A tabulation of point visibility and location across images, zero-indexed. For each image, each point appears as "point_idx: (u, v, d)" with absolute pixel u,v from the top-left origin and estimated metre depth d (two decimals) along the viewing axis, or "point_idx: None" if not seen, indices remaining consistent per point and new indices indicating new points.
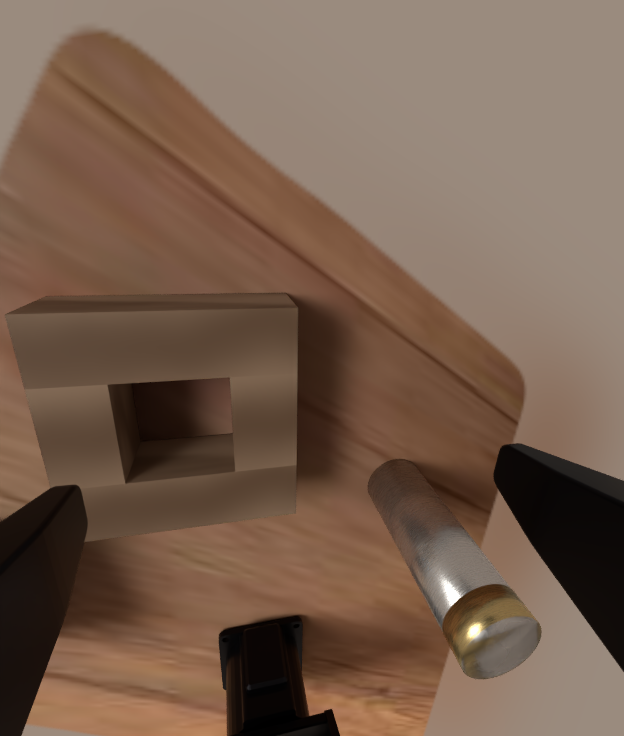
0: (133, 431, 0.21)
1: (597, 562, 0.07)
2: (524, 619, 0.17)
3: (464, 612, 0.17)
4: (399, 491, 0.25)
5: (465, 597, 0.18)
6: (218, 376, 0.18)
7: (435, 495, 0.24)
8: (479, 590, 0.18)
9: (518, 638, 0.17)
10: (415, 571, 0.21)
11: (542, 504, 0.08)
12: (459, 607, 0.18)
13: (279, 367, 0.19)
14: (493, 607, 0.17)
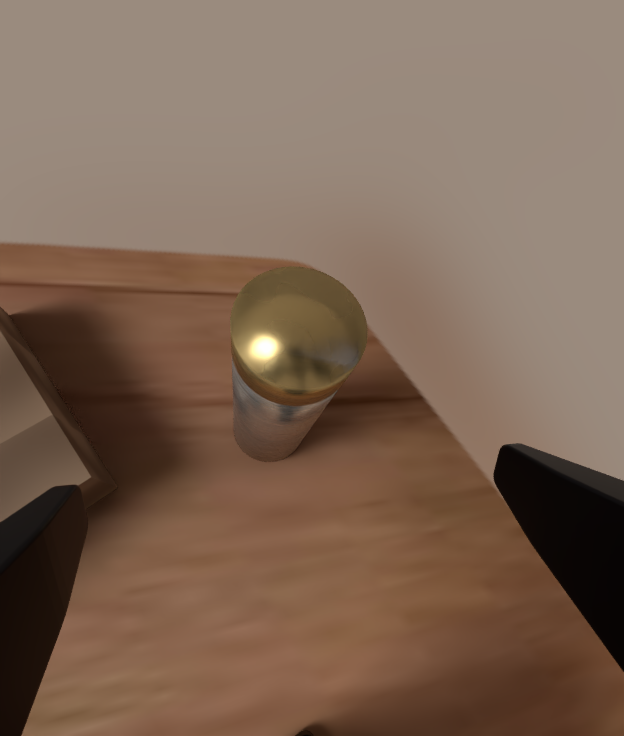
0: None
1: (597, 562, 0.07)
2: (286, 272, 0.12)
3: None
4: None
5: None
6: None
7: None
8: None
9: (312, 300, 0.12)
10: (240, 405, 0.15)
11: (542, 504, 0.08)
12: None
13: None
14: None
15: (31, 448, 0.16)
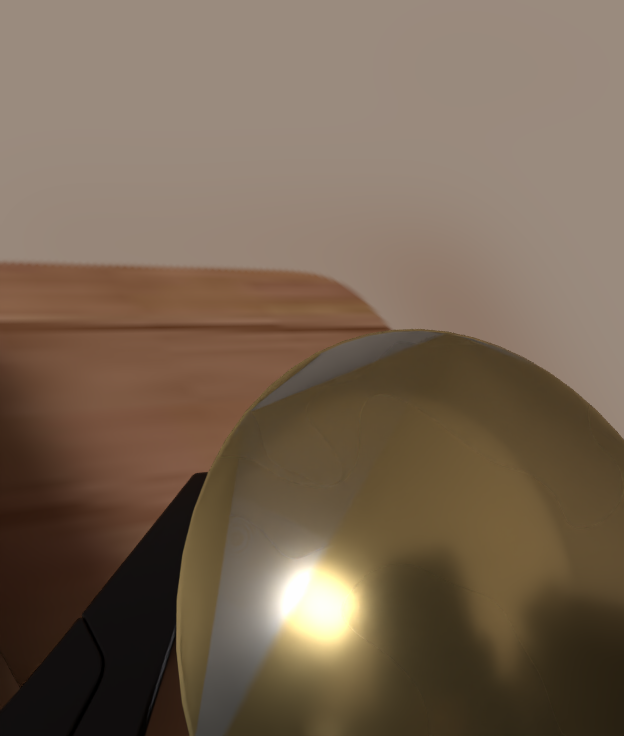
0: None
1: None
2: (382, 352, 0.03)
3: None
4: None
5: None
6: None
7: None
8: None
9: (488, 458, 0.03)
10: None
11: None
12: None
13: None
14: None
15: None
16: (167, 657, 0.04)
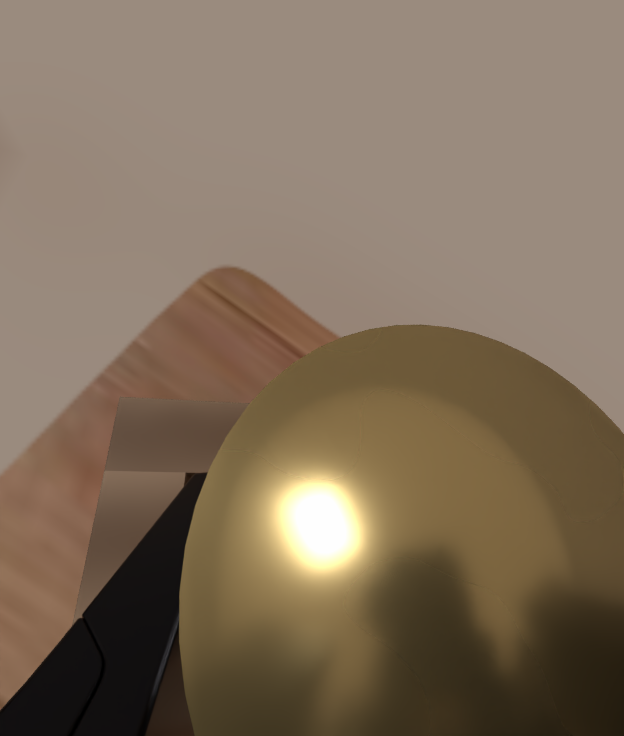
0: None
1: None
2: (382, 346, 0.03)
3: None
4: None
5: None
6: None
7: None
8: None
9: (490, 452, 0.03)
10: None
11: None
12: None
13: None
14: None
15: None
16: (167, 657, 0.04)
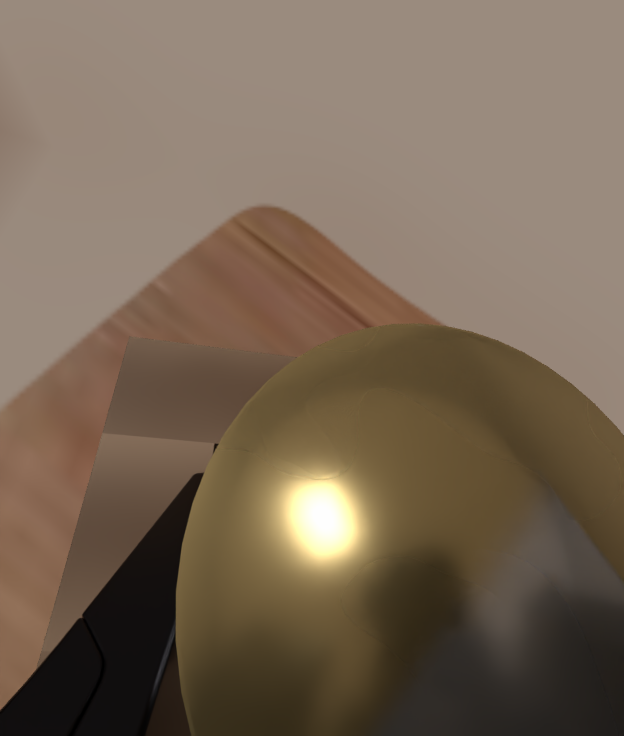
0: None
1: None
2: (381, 346, 0.03)
3: None
4: None
5: None
6: None
7: None
8: None
9: (486, 451, 0.03)
10: None
11: None
12: None
13: None
14: None
15: None
16: (167, 657, 0.04)
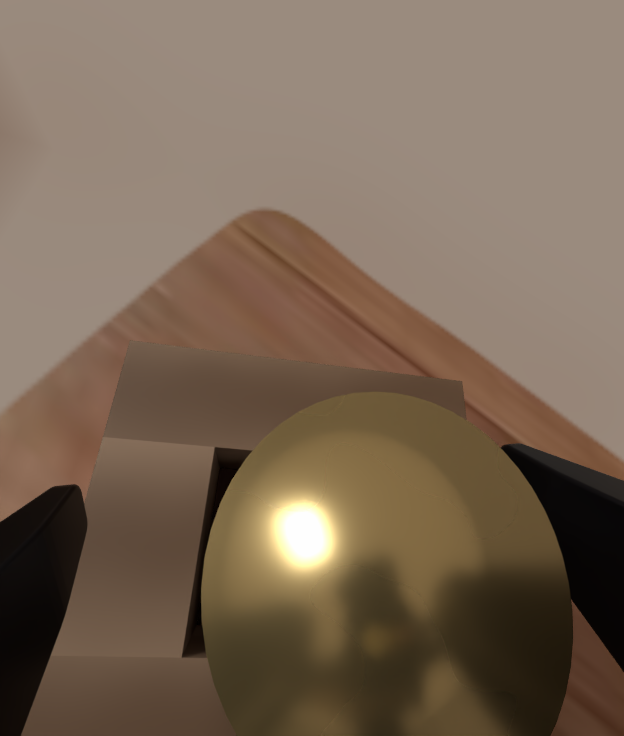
0: (200, 584, 0.13)
1: (597, 562, 0.07)
2: (344, 410, 0.05)
3: None
4: None
5: None
6: None
7: None
8: None
9: (418, 489, 0.04)
10: None
11: (542, 504, 0.08)
12: None
13: None
14: None
15: None
16: None
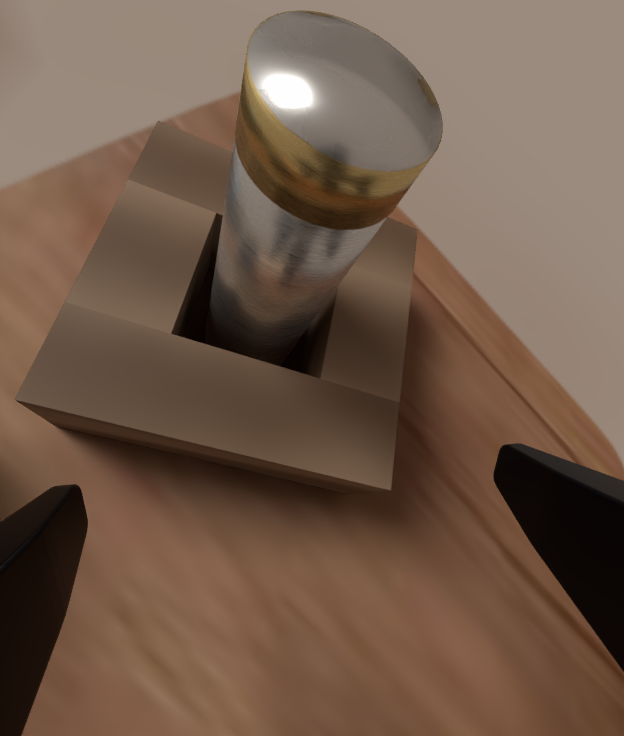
0: (182, 332, 0.16)
1: (597, 562, 0.07)
2: (336, 22, 0.08)
3: (241, 92, 0.08)
4: None
5: None
6: None
7: None
8: None
9: (370, 66, 0.08)
10: (229, 252, 0.11)
11: (542, 504, 0.08)
12: None
13: (394, 273, 0.17)
14: None
15: (367, 415, 0.14)
16: None
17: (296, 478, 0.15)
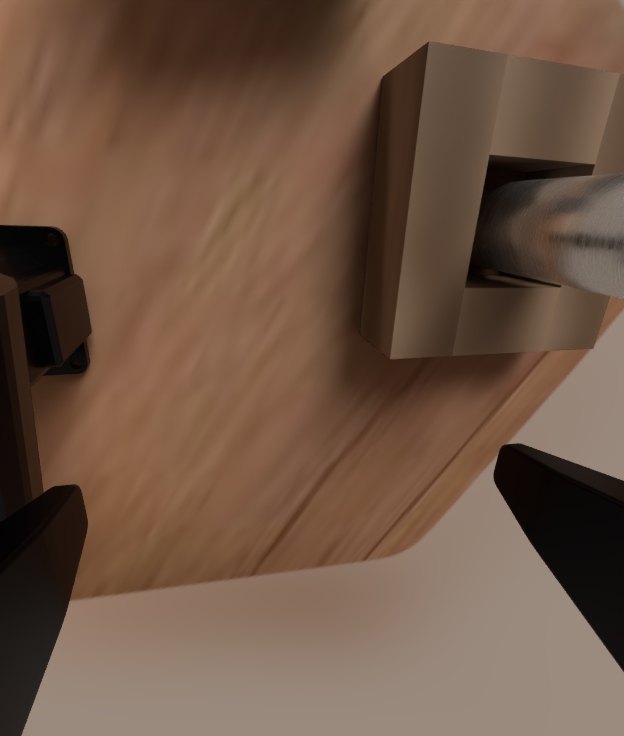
0: None
1: (597, 562, 0.07)
2: None
3: None
4: None
5: None
6: None
7: None
8: None
9: None
10: (582, 187, 0.13)
11: (542, 504, 0.08)
12: None
13: (553, 334, 0.20)
14: None
15: (440, 331, 0.18)
16: None
17: (372, 290, 0.20)
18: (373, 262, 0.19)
